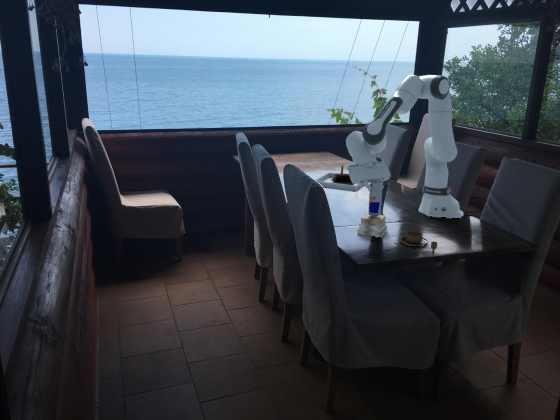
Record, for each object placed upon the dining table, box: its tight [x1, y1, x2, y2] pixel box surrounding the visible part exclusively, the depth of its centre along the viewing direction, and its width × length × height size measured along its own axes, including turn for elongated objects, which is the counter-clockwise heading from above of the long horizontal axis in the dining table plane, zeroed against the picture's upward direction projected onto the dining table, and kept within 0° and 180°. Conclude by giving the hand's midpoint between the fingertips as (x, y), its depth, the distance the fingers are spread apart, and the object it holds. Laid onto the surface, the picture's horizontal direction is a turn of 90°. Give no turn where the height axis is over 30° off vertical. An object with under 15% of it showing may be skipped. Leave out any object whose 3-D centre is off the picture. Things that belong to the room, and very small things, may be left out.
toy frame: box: [315, 171, 364, 192], centre depth 313 cm, size 28×28×3 cm
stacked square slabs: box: [356, 212, 388, 238], centre depth 224 cm, size 11×11×8 cm
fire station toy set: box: [330, 164, 355, 186], centre depth 308 cm, size 14×20×11 cm
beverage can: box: [368, 182, 384, 216], centre depth 220 cm, size 6×6×15 cm
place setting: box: [399, 230, 438, 254], centre depth 209 cm, size 18×20×6 cm
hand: (376, 189), depth 219 cm, fingers closed on beverage can, 5 cm apart
